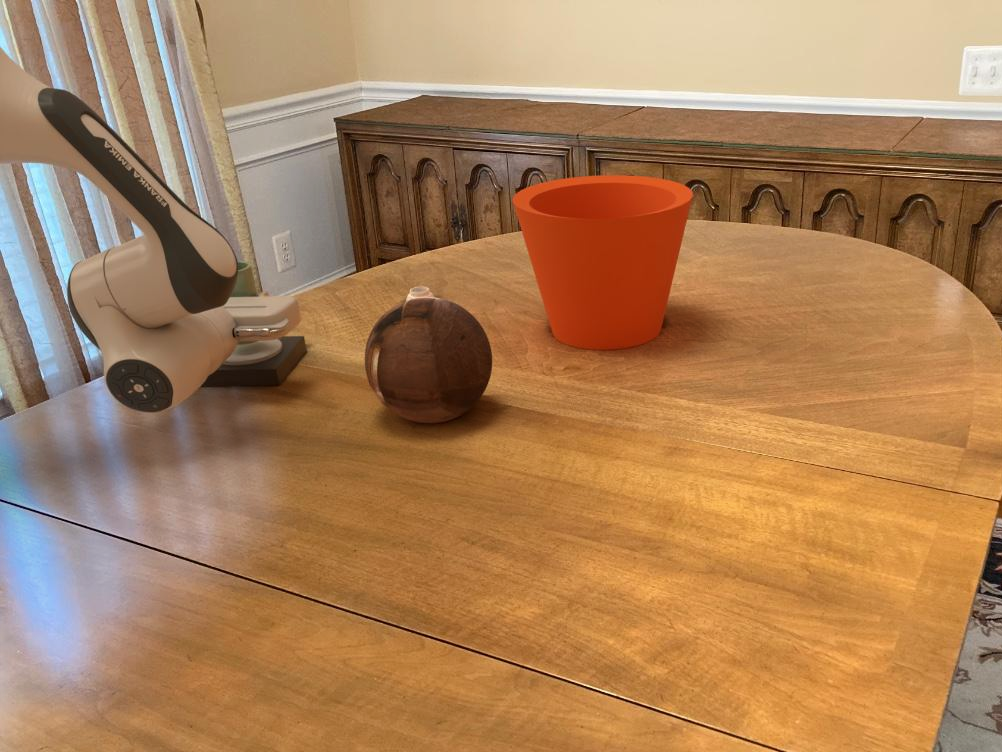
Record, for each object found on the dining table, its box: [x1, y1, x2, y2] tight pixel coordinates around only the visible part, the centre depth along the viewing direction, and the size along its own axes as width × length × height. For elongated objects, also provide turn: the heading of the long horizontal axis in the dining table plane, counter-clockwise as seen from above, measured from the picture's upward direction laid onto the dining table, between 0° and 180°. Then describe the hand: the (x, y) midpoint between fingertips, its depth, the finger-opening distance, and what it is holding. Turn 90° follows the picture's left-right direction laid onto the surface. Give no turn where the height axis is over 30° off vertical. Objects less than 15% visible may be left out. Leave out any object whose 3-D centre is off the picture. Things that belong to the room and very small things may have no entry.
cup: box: [230, 260, 258, 345], centre depth 131 cm, size 5×5×10 cm
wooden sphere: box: [364, 296, 493, 424], centre depth 117 cm, size 15×15×15 cm
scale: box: [200, 335, 308, 387], centre depth 135 cm, size 12×12×3 cm
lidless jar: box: [405, 286, 435, 301], centre depth 155 cm, size 5×3×5 cm
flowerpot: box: [512, 174, 694, 351], centre depth 140 cm, size 25×25×20 cm
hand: (239, 297), depth 132 cm, fingers closed on cup, 5 cm apart
